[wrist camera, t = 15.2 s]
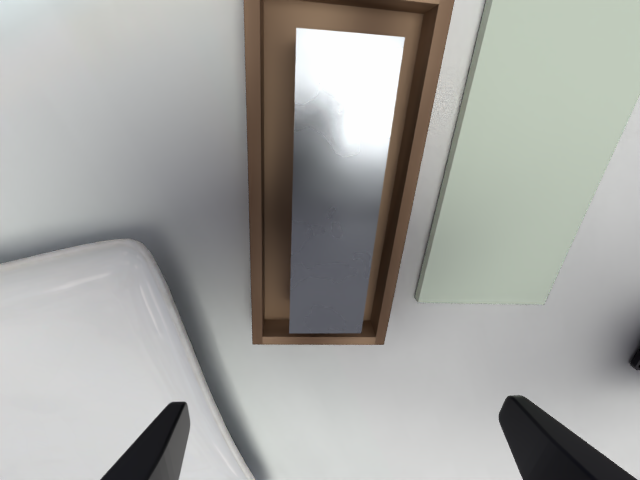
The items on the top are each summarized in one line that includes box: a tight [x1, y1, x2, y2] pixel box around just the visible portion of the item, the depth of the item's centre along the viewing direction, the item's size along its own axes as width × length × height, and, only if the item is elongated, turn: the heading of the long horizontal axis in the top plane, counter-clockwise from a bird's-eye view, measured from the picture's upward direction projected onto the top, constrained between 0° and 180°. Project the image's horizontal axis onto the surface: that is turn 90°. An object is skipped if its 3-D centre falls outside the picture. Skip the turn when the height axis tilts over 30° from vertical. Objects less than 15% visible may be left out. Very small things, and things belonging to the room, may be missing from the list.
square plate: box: [0, 239, 255, 480], centre depth 22 cm, size 27×27×4 cm
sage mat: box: [415, 0, 640, 305], centre depth 17 cm, size 9×18×1 cm, turn 176°
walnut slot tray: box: [244, 0, 455, 345], centre depth 16 cm, size 8×18×2 cm, turn 176°
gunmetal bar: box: [289, 28, 405, 333], centre depth 15 cm, size 4×14×3 cm, turn 176°
